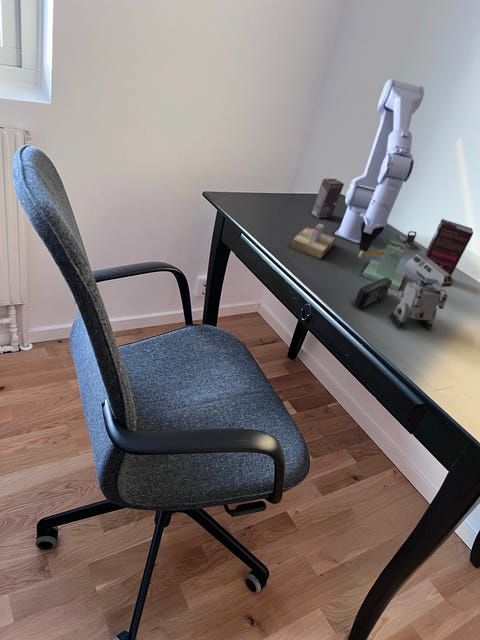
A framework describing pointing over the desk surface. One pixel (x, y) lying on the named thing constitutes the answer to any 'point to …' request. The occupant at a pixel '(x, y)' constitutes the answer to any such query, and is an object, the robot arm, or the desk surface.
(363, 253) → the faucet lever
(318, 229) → the grey rectangular block
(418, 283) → the figurine
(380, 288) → the dark grey piece
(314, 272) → the desk surface
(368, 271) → the green lever mechanism
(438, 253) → the supplement box
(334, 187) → the box
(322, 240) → the panel
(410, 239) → the strap clip
